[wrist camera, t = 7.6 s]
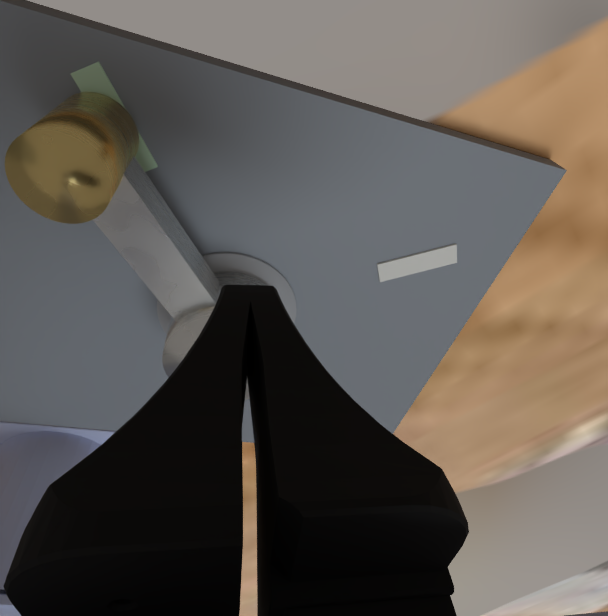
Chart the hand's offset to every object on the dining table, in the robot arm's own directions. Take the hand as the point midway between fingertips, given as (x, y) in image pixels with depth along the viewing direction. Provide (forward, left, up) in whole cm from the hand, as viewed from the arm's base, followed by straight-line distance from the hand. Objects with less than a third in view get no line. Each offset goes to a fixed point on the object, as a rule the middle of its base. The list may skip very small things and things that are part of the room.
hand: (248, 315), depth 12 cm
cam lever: (-3, +2, -7) cm, 8 cm away
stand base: (-6, 0, -8) cm, 10 cm away
